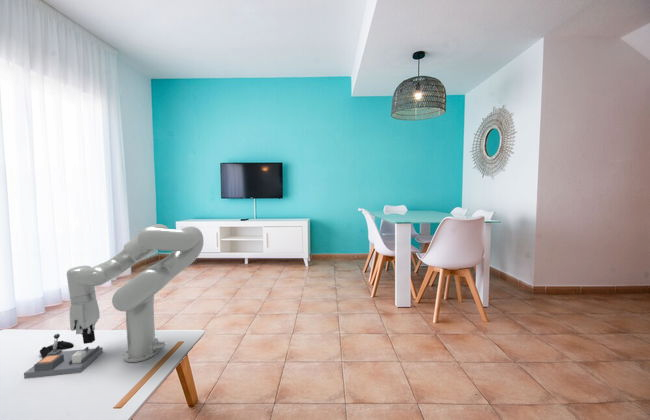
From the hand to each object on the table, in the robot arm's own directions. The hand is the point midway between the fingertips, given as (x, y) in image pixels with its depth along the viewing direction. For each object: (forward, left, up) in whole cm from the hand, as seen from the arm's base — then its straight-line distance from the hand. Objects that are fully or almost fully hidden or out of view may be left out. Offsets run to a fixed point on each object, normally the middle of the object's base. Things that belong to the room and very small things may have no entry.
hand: (89, 342), depth 110 cm
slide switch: (+1, +4, -5) cm, 7 cm away
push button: (+10, +6, -4) cm, 12 cm away
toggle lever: (+14, -2, -3) cm, 15 cm away
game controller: (+18, -9, -8) cm, 22 cm away
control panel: (+7, +2, -7) cm, 10 cm away
